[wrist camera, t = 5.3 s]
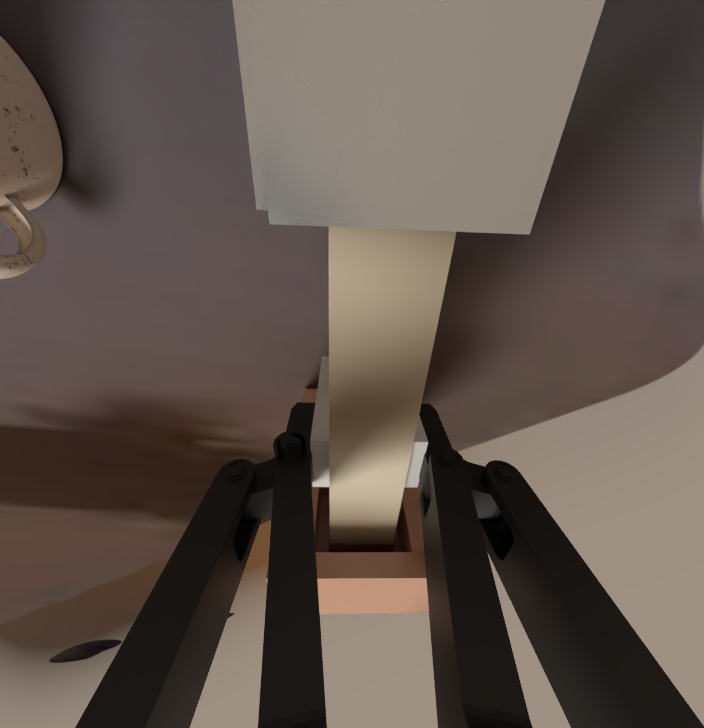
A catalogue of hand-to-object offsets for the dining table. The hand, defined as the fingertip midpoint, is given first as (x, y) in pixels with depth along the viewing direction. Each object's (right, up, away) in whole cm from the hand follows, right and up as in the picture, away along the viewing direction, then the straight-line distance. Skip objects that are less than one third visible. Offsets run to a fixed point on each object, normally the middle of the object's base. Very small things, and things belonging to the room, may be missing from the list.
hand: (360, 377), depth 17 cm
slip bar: (0, +1, -5) cm, 5 cm away
